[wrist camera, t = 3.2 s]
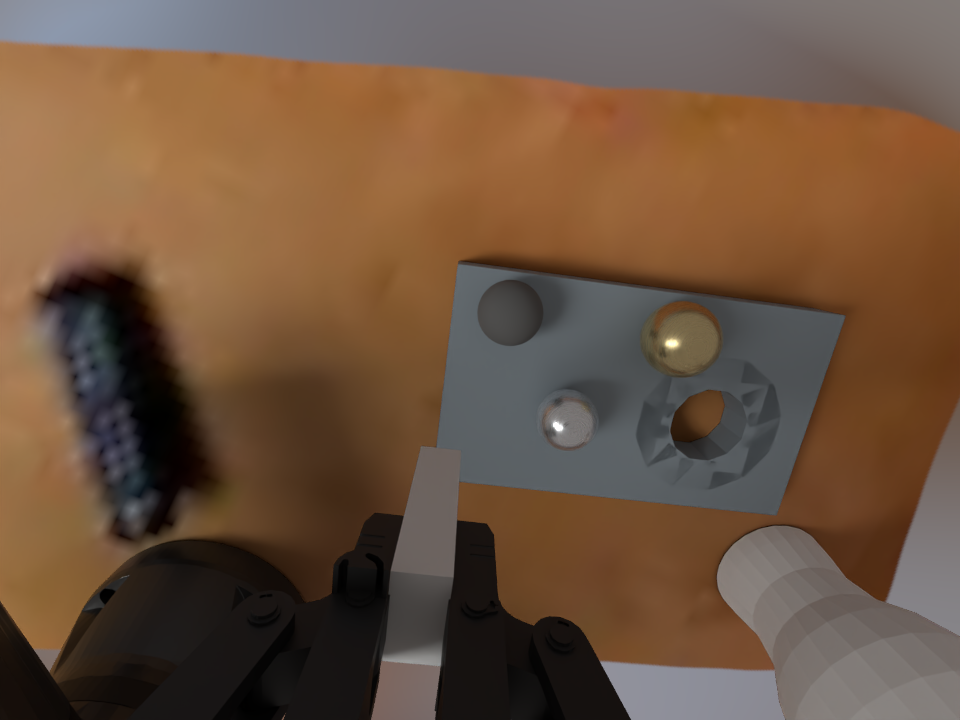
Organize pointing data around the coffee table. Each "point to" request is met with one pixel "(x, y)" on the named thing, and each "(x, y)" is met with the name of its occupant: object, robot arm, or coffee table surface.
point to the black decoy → (510, 312)
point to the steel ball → (567, 420)
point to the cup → (837, 635)
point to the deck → (632, 394)
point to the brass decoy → (681, 339)
